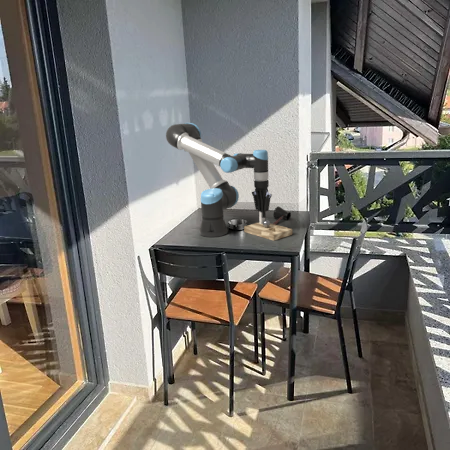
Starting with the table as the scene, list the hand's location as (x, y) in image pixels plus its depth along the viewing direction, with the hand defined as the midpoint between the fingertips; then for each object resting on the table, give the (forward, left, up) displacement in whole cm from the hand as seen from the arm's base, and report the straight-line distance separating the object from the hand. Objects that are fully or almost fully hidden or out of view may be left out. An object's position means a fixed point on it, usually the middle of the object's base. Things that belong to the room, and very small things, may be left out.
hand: (262, 223), depth 235 cm
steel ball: (0, -3, 0) cm, 3 cm away
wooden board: (0, -4, -5) cm, 6 cm away
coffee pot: (+21, +8, -5) cm, 23 cm away
